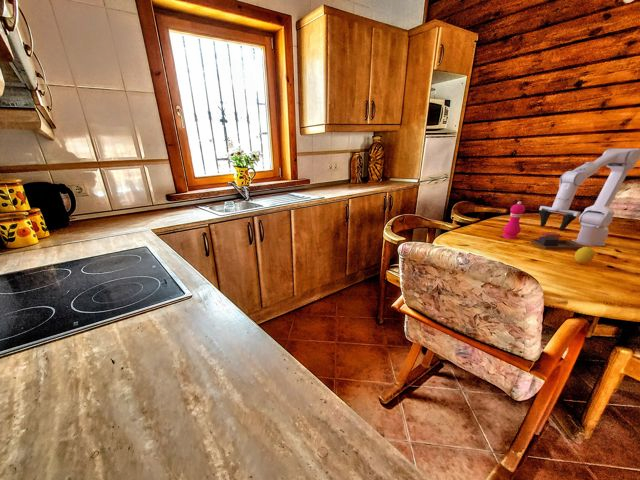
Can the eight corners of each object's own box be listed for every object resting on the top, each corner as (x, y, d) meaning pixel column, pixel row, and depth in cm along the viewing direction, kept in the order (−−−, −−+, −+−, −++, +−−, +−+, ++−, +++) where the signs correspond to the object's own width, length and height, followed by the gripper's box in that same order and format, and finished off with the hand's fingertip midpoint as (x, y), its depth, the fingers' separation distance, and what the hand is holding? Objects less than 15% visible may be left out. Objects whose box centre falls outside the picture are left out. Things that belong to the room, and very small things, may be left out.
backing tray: (565, 243, 139) (566, 239, 138) (581, 250, 130) (582, 246, 129) (531, 243, 142) (532, 239, 141) (544, 250, 133) (545, 246, 132)
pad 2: (550, 244, 138) (553, 236, 136) (556, 247, 134) (559, 239, 132) (536, 244, 139) (539, 236, 137) (542, 247, 135) (545, 239, 133)
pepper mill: (518, 240, 146) (529, 202, 138) (501, 239, 150) (511, 202, 142) (517, 236, 152) (527, 200, 144) (501, 235, 156) (510, 199, 148)
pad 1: (551, 239, 146) (554, 232, 144) (557, 242, 142) (560, 234, 140) (538, 239, 147) (541, 232, 146) (544, 241, 143) (546, 234, 141)
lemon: (582, 261, 119) (589, 244, 116) (593, 267, 114) (601, 249, 111) (567, 262, 120) (574, 244, 117) (579, 267, 115) (586, 249, 111)
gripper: (540, 196, 129) (529, 224, 134) (578, 201, 116) (564, 232, 121) (549, 196, 131) (538, 224, 136) (588, 201, 119) (574, 232, 124)
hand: (551, 228), depth 129 cm, fingers open, 7 cm apart
